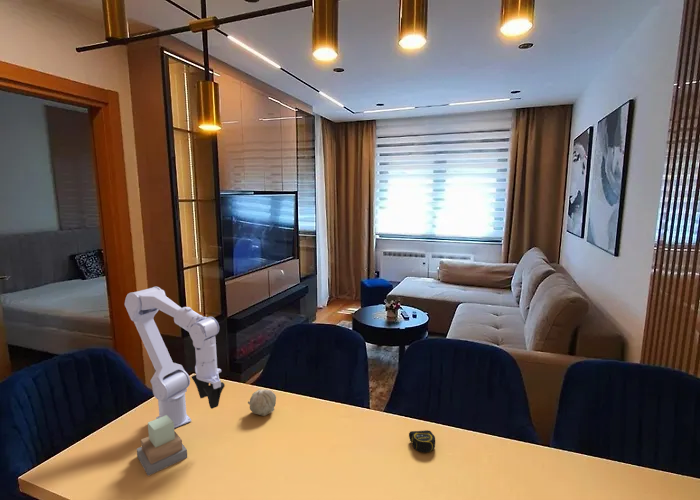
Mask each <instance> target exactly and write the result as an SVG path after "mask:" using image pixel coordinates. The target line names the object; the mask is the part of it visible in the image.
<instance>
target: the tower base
mask: <svg viewBox="0 0 700 500" xmlns="http://www.w3.org/2000/svg"><path fill="white" fill-rule="evenodd" d="M136 457H137V458H138V460H139V462H140V464H141V466H142V468H143V470H144V472H145V474H146V475H147V476H148V477H149V476H152V475H153V474H156V473H157V472H160V471H161V470H164V469H166V468H169V467H170V466H173V465H174V464H177V463H179V462H181V461H183V460H186V459H188V450H187V448H186V447H185V445H184V443H182V450H181V451H179V452H176V453H174V454H172V455H170V456H168V457H165V458H163V459H161V460H159V461H157V462H155V463H152V464H151V463H150V462H149V460H148V459H147V457H146V455H145V454H144V452H143V451H142V446H139V447H138V448H136Z"/></svg>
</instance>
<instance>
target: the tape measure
mask: <svg viewBox="0 0 700 500" xmlns="http://www.w3.org/2000/svg"><path fill="white" fill-rule="evenodd" d="M408 437H409V441H410V443H411V445H412V447H413V449H415V451H418V452H421V453H429V452H432V451H434V450H435V447H436V436H435V435H434V434H433V432H432V431H431V430H425V429H424V430H413V431H412V430H411V431H409V433H408Z"/></svg>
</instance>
